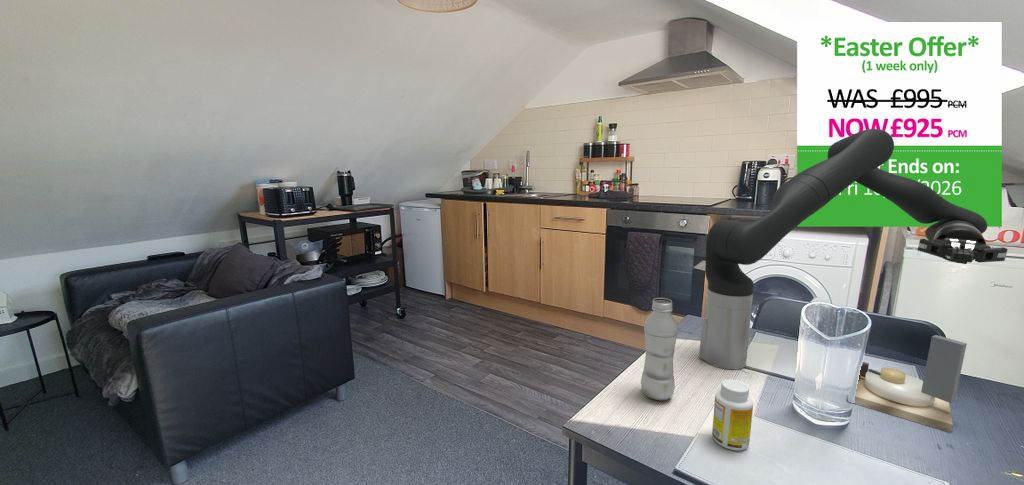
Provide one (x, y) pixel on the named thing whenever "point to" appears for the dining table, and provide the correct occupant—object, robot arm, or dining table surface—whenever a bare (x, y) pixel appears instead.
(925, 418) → the level stand
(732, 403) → the supplement bottle
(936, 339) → the dial
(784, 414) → the dining table surface
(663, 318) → the plastic bottle
